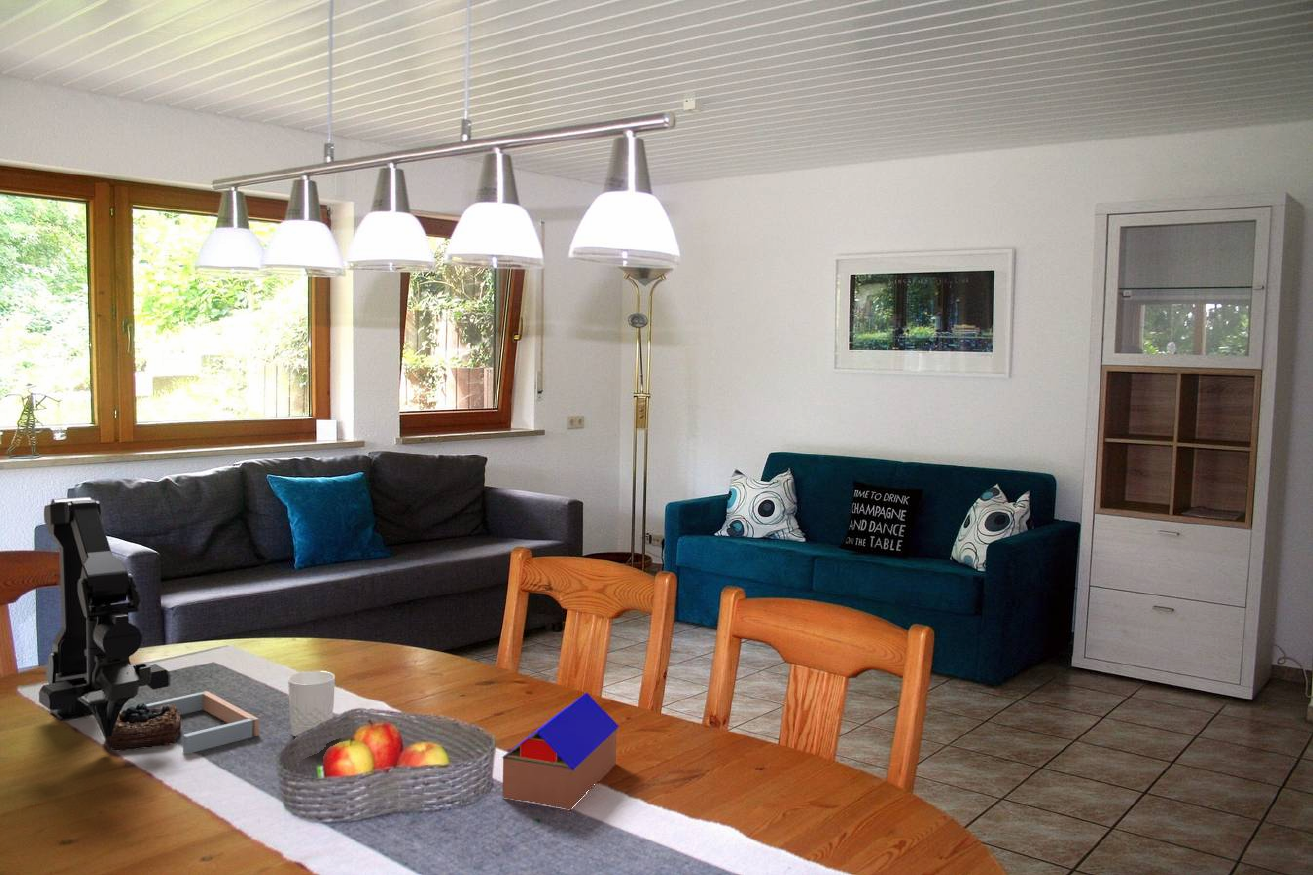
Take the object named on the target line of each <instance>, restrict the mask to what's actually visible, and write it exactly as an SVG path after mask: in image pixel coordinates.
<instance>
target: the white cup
mask: <svg viewBox="0 0 1313 875" xmlns="http://www.w3.org/2000/svg"><path fill="white" fill-rule="evenodd" d="M287 681H288V682H287V684H288V686H287V687H288V707H289V718H290V726H291V727H290V728H291V731H290V732H291V735H292V736H293V737H294V736H296V735H298V734H300V733H302V732H304V731H306V730H308V729H311V728H313V727H315V726H317V725H319V724H320V723H322V722H325V721H326V720H329V719H331V718H332V719H333V716H334V712H333V711H334V703H335V702H334V701H335V684H336V683H335V681H336V674H334V673H332V672H330V671H325V670H310V671H309V670H308V671H302V672H297V673H294V674H292V675H290V676H289V677H288V679H287Z"/></svg>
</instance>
